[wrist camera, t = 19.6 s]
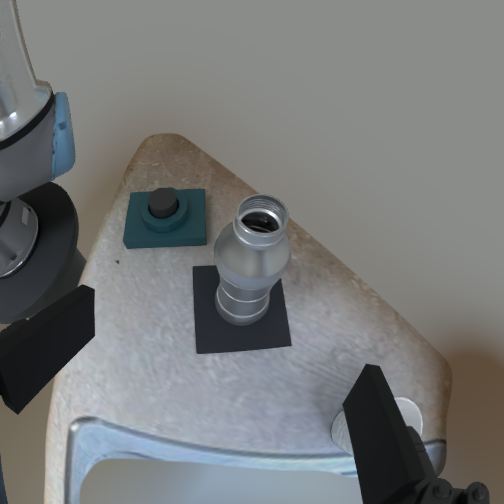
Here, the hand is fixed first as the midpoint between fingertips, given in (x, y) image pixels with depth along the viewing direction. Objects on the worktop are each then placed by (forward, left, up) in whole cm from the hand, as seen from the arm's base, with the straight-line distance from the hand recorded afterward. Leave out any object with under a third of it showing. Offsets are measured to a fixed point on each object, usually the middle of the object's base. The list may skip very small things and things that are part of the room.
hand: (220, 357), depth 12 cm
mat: (+4, +10, -23) cm, 25 cm away
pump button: (-6, +24, -20) cm, 32 cm away
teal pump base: (-6, +24, -23) cm, 34 cm away
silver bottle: (+4, +10, -23) cm, 25 cm away
